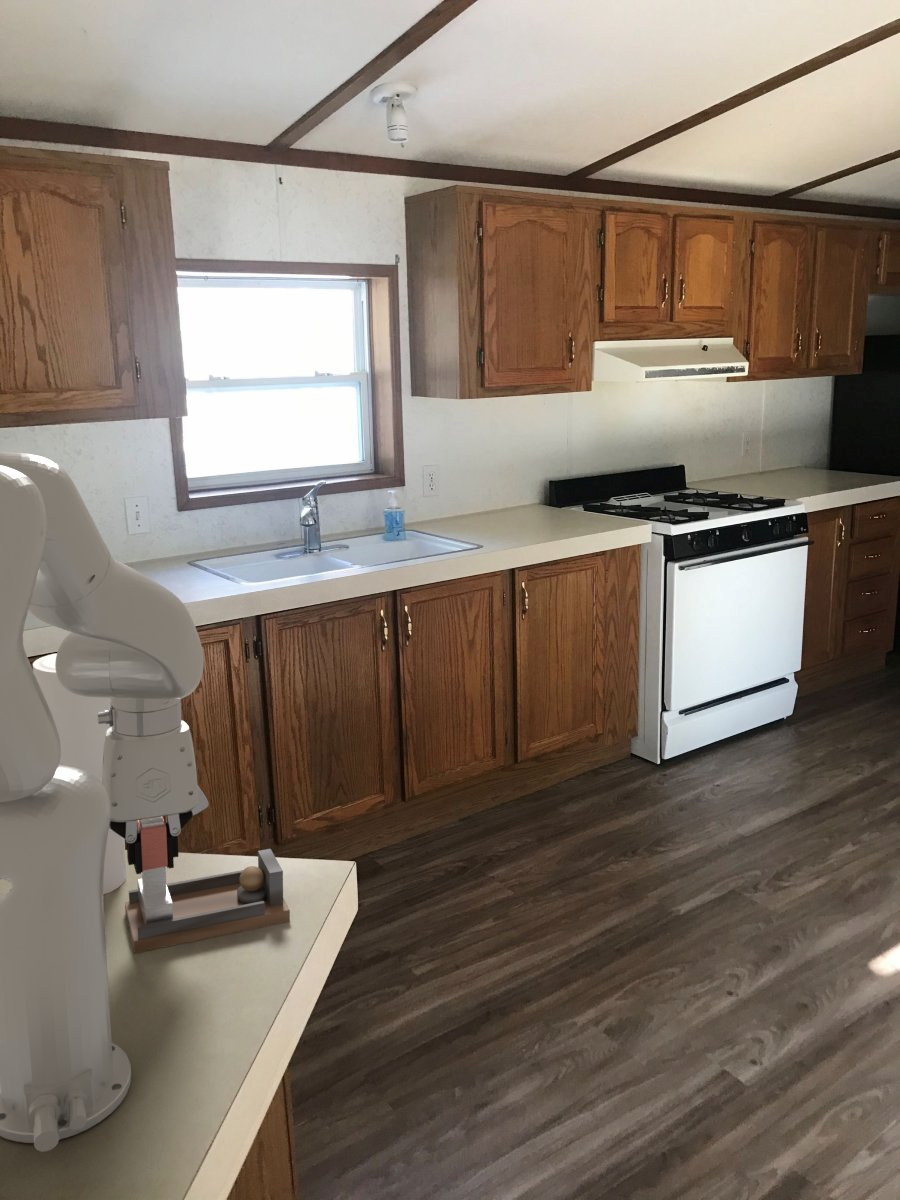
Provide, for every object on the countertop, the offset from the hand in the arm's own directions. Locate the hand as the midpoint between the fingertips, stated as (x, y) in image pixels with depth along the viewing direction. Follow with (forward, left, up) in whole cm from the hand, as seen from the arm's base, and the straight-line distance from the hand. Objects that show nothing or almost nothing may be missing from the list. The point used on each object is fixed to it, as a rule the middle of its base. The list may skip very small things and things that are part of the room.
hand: (153, 864), depth 113 cm
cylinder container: (+15, +6, -8) cm, 18 cm away
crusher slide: (0, 0, -6) cm, 6 cm away
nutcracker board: (0, -6, -8) cm, 10 cm away
